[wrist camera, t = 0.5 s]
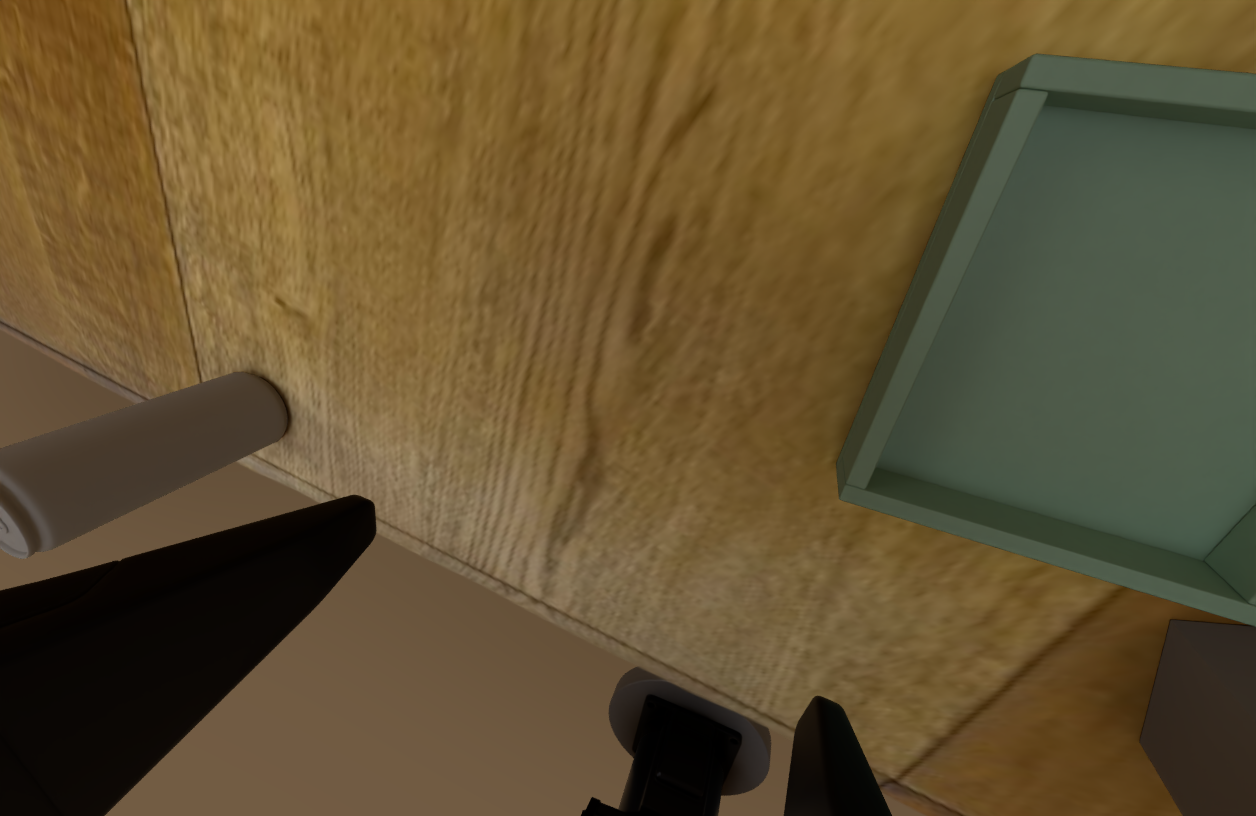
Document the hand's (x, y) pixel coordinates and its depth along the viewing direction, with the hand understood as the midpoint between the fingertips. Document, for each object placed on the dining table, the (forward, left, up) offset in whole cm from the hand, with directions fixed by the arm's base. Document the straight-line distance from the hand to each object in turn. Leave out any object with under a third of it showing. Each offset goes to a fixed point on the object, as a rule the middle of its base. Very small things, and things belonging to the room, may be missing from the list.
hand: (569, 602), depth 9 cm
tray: (+4, -12, -13) cm, 18 cm away
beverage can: (-10, +27, -13) cm, 31 cm away
